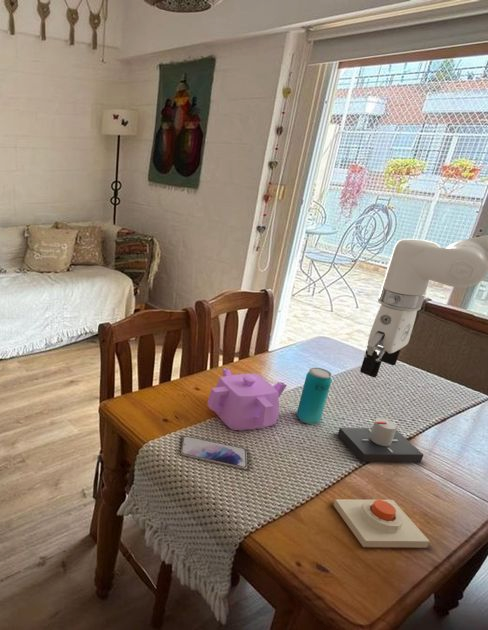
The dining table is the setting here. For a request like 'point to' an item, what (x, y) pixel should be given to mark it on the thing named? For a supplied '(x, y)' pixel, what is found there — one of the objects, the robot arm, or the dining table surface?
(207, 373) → the dining table surface
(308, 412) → the beverage can
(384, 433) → the timer knob
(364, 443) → the panel
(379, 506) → the button
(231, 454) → the smartphone
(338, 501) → the block
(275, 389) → the teakettle
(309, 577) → the dining table surface
